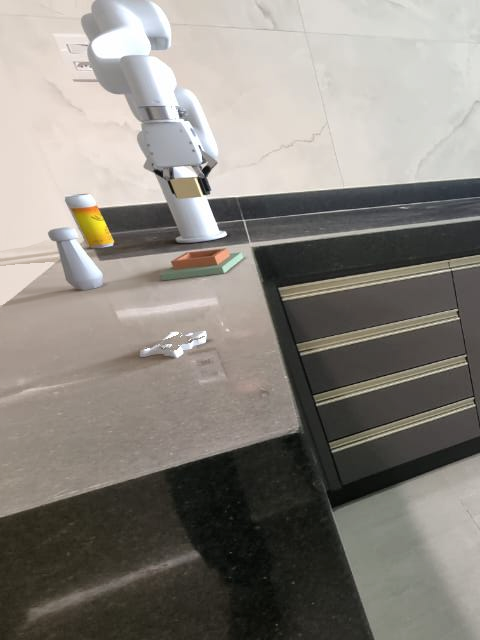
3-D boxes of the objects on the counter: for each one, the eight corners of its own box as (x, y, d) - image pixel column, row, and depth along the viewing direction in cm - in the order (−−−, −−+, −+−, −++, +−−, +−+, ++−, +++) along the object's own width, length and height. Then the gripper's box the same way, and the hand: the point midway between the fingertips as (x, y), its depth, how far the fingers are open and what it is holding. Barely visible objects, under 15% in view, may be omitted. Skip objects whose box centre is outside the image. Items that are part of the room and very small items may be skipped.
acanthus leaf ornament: (176, 339, 86) (172, 328, 85) (216, 338, 86) (211, 328, 85) (134, 358, 79) (128, 347, 78) (176, 358, 79) (171, 346, 78)
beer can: (118, 245, 160) (94, 193, 153) (92, 249, 155) (66, 197, 149) (111, 243, 163) (87, 193, 156) (85, 247, 158) (59, 196, 152)
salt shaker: (85, 291, 114) (53, 231, 108) (64, 291, 115) (33, 231, 110) (114, 283, 119) (85, 225, 114) (94, 283, 120) (65, 225, 115)
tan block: (186, 196, 134) (179, 177, 132) (209, 194, 135) (202, 176, 133) (177, 199, 129) (169, 179, 127) (201, 197, 130) (194, 177, 128)
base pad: (188, 264, 133) (182, 250, 132) (243, 258, 137) (238, 244, 136) (162, 280, 120) (155, 265, 118) (224, 273, 123) (218, 258, 122)
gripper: (210, 114, 130) (237, 191, 138) (125, 118, 125) (158, 197, 132) (199, 113, 124) (229, 194, 131) (109, 117, 118) (145, 201, 126)
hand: (193, 195), depth 132 cm, fingers closed on tan block, 5 cm apart
